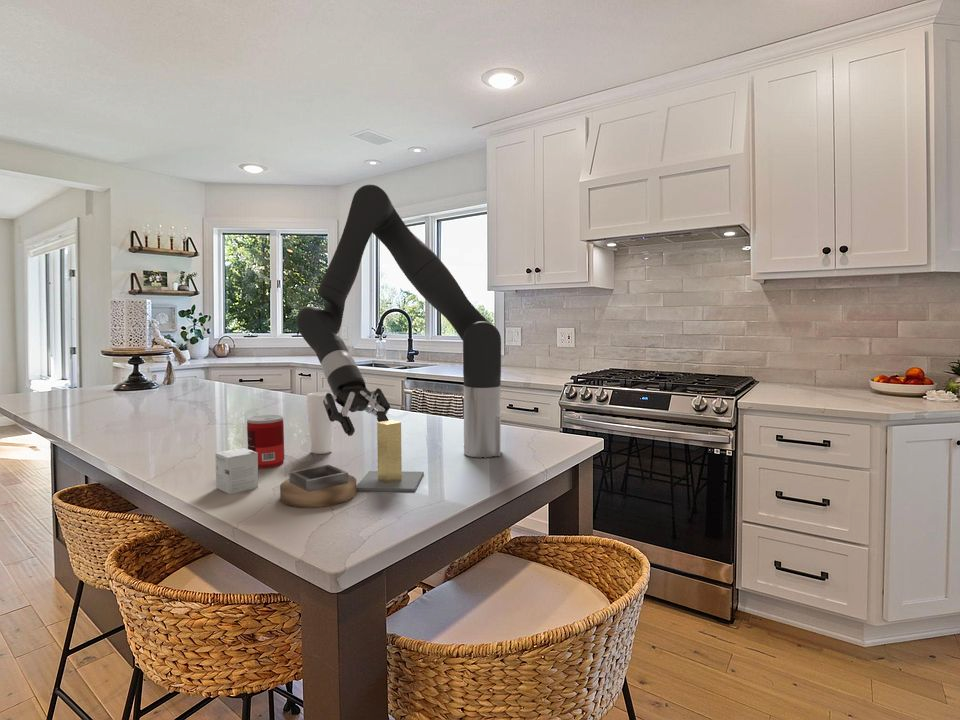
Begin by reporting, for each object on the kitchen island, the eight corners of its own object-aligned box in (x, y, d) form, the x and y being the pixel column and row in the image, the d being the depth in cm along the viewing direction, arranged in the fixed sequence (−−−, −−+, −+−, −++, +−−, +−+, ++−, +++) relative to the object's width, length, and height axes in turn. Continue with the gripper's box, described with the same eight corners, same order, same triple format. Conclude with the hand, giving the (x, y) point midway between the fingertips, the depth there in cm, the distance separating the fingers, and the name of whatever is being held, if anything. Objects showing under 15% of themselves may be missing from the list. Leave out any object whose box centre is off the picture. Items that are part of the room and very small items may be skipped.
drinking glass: (339, 449, 142) (338, 392, 141) (329, 455, 135) (328, 395, 134) (314, 448, 143) (312, 391, 142) (303, 455, 136) (301, 395, 135)
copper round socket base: (335, 480, 115) (334, 459, 114) (370, 496, 104) (369, 472, 104) (268, 494, 105) (267, 471, 105) (299, 513, 95) (299, 488, 95)
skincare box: (215, 488, 109) (214, 452, 109) (245, 481, 114) (244, 447, 113) (229, 494, 105) (228, 457, 105) (259, 487, 110) (258, 451, 109)
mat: (423, 474, 119) (423, 471, 119) (414, 491, 107) (414, 488, 107) (369, 473, 119) (369, 471, 119) (354, 490, 107) (354, 487, 107)
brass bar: (392, 476, 116) (391, 420, 115) (401, 479, 113) (401, 422, 112) (377, 479, 113) (377, 422, 112) (387, 483, 111) (386, 424, 110)
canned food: (291, 461, 130) (290, 415, 129) (268, 470, 123) (266, 421, 122) (265, 458, 133) (263, 413, 132) (240, 467, 125) (239, 419, 124)
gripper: (319, 365, 119) (346, 424, 111) (375, 362, 128) (403, 416, 121) (308, 387, 123) (333, 446, 116) (363, 382, 133) (390, 436, 125)
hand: (369, 430), depth 118 cm, fingers open, 8 cm apart
